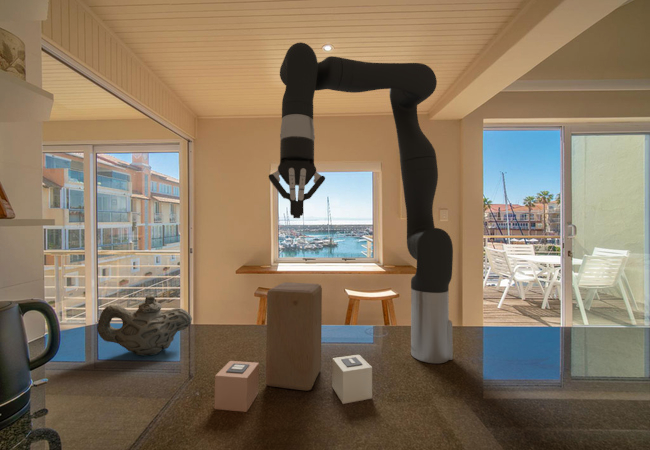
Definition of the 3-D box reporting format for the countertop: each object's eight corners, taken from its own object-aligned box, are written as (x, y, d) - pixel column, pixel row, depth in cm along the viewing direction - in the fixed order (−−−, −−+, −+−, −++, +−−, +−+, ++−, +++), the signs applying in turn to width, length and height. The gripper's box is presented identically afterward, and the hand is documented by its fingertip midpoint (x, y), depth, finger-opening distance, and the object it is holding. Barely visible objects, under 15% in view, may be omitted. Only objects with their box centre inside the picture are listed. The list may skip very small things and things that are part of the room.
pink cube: (258, 393, 57) (258, 361, 57) (246, 412, 51) (247, 376, 51) (229, 391, 58) (230, 359, 58) (214, 409, 52) (215, 373, 52)
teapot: (191, 339, 85) (192, 288, 85) (191, 354, 75) (193, 295, 75) (102, 351, 76) (103, 294, 76) (88, 370, 65) (90, 304, 66)
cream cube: (358, 383, 61) (359, 353, 61) (372, 398, 55) (372, 365, 56) (332, 387, 59) (332, 356, 59) (342, 404, 54) (343, 369, 54)
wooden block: (311, 393, 57) (312, 291, 57) (263, 387, 59) (265, 289, 59) (322, 369, 67) (322, 283, 67) (281, 365, 69) (282, 281, 69)
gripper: (324, 146, 69) (323, 219, 68) (268, 144, 67) (267, 218, 66) (329, 136, 61) (328, 217, 61) (266, 133, 59) (265, 216, 59)
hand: (296, 217), depth 64 cm, fingers closed
